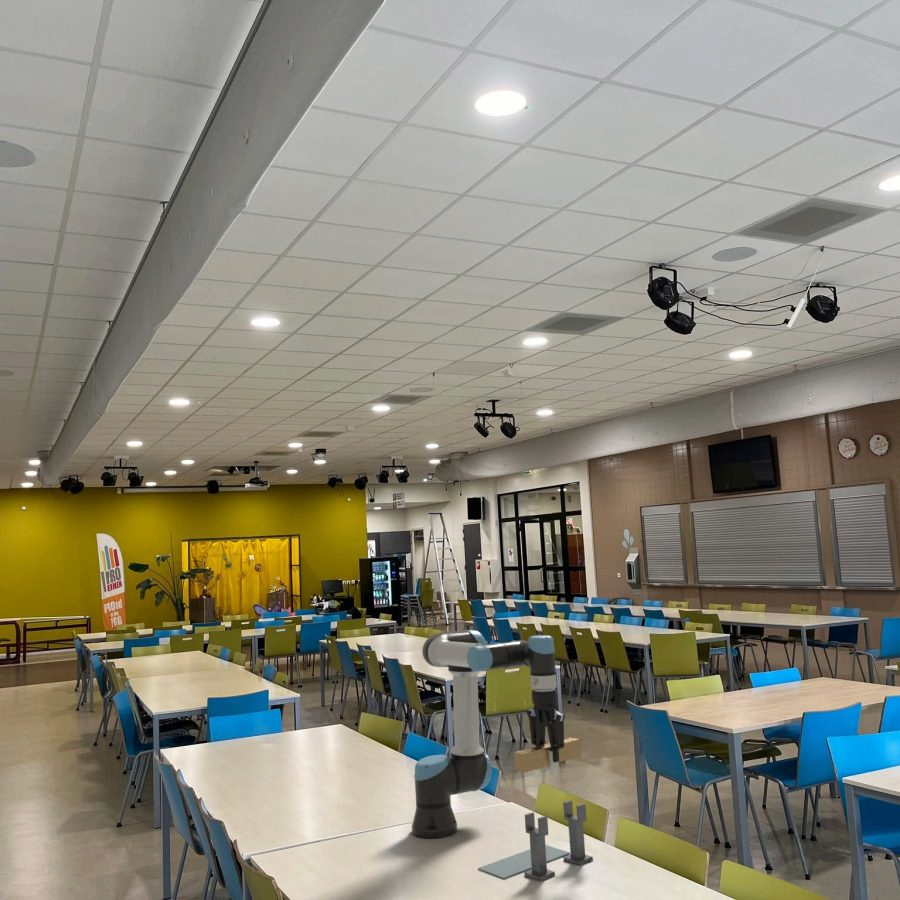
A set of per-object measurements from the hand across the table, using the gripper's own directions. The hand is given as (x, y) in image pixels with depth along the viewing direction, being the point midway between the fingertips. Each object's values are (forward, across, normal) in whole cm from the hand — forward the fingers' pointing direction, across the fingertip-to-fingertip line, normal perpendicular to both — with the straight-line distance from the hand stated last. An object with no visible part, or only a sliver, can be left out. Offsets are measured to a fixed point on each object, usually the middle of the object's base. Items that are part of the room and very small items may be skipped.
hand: (549, 771), depth 238 cm
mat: (+26, -10, -3) cm, 28 cm away
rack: (+26, +2, 0) cm, 26 cm away
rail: (-2, 0, 0) cm, 2 cm away
